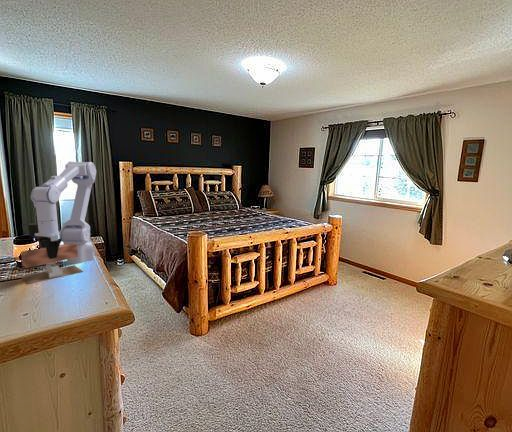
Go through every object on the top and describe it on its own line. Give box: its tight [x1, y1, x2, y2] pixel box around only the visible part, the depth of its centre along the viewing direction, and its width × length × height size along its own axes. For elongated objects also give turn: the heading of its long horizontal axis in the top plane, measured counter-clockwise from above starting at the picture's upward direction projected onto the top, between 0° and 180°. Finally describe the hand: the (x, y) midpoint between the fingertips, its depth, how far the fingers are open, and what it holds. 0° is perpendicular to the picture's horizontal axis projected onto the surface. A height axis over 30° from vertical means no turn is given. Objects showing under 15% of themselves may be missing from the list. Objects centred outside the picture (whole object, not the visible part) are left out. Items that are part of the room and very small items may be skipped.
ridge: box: [42, 262, 64, 279], centre depth 102 cm, size 4×9×4 cm, turn 49°
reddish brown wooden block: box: [20, 243, 78, 269], centre depth 101 cm, size 16×4×5 cm, turn 146°
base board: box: [20, 264, 84, 285], centre depth 102 cm, size 17×11×1 cm, turn 139°
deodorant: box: [27, 222, 43, 248], centre depth 127 cm, size 6×6×15 cm
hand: (51, 256), depth 101 cm, fingers closed on reddish brown wooden block, 4 cm apart
